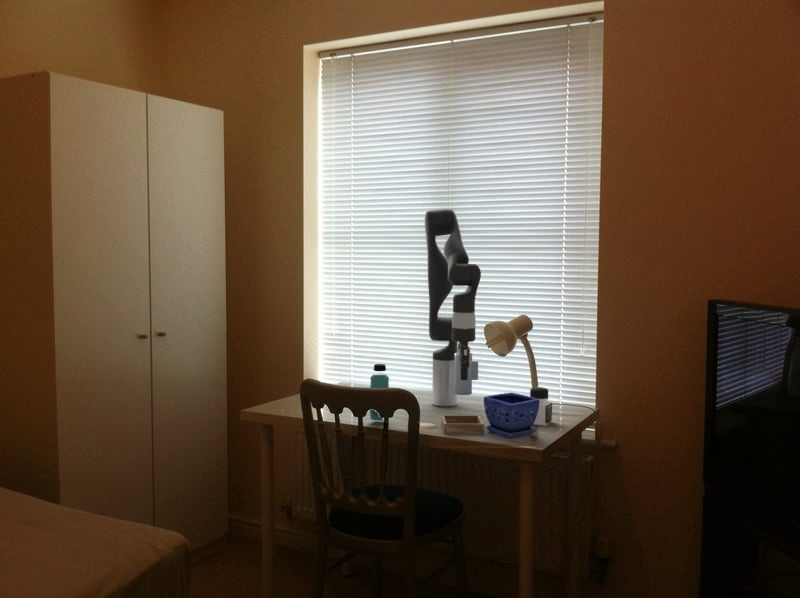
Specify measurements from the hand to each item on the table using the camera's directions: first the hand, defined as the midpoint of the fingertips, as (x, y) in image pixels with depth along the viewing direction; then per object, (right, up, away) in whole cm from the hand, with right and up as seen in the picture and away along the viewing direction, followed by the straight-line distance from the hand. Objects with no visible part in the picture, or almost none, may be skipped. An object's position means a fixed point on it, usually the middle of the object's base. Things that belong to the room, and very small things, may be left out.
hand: (463, 377), depth 234 cm
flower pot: (+15, -18, -4) cm, 23 cm away
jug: (0, -5, 0) cm, 5 cm away
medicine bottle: (+27, -17, +12) cm, 34 cm away
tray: (0, -17, +1) cm, 17 cm away
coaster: (-13, -17, +4) cm, 22 cm away
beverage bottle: (-27, -17, +11) cm, 34 cm away
